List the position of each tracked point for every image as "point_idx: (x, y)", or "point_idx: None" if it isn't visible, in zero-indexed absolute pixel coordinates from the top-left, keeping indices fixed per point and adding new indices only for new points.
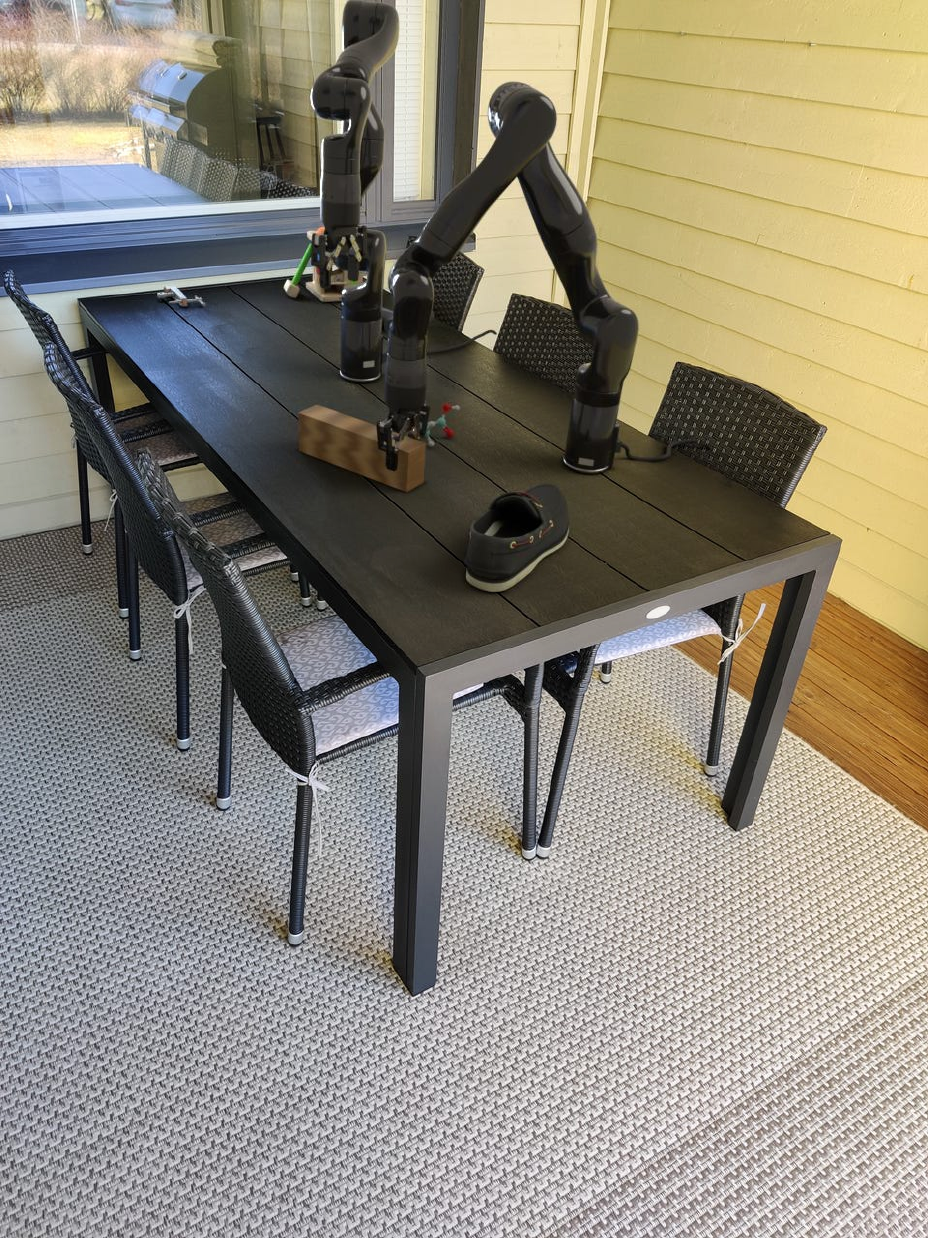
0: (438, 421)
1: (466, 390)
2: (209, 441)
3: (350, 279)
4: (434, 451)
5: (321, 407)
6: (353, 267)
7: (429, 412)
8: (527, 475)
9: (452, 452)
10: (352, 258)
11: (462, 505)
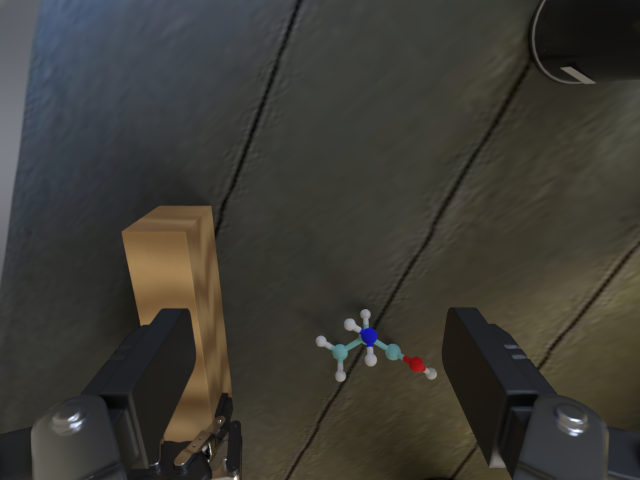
0: (386, 352)
1: (622, 259)
2: (37, 40)
3: (447, 325)
4: (331, 357)
5: (181, 248)
6: (476, 407)
7: (241, 474)
8: (354, 467)
9: (347, 375)
10: (519, 453)
11: (220, 454)
